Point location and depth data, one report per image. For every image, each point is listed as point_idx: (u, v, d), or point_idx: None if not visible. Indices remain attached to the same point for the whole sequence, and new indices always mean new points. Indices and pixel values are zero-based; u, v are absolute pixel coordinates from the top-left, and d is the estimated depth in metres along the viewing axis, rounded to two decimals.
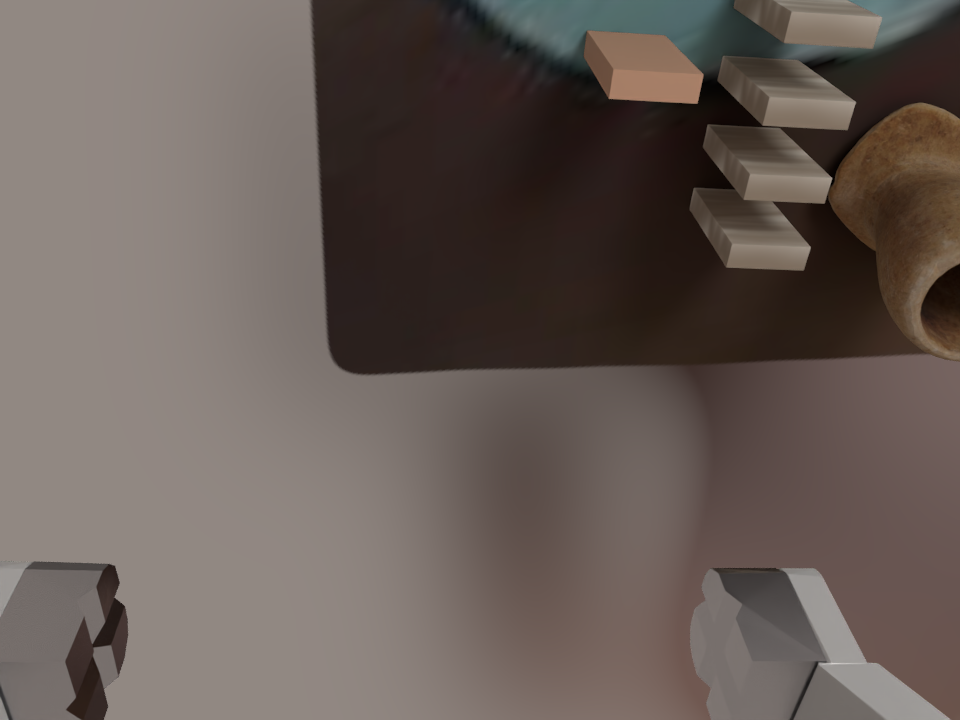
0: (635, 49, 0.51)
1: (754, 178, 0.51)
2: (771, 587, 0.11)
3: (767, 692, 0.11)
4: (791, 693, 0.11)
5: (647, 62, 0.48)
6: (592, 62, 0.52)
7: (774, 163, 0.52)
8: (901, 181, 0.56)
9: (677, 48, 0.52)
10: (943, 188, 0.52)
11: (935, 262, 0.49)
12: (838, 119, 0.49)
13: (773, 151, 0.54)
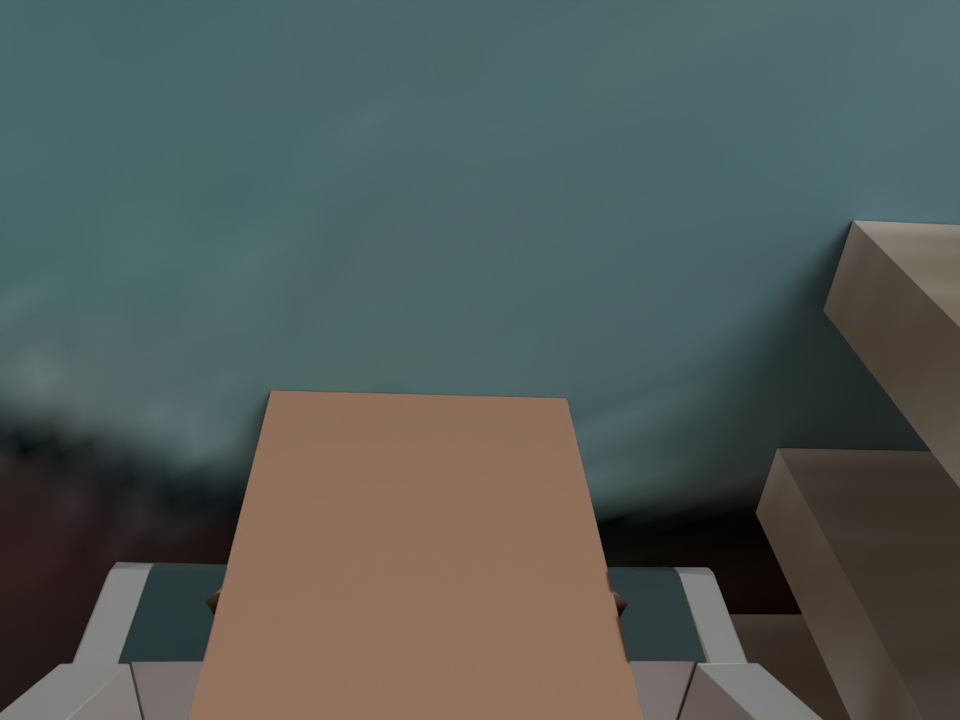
0: (398, 584, 0.11)
1: None
2: (660, 586, 0.11)
3: (648, 693, 0.11)
4: (673, 693, 0.11)
5: None
6: None
7: None
8: None
9: (597, 536, 0.12)
10: None
11: None
12: None
13: None
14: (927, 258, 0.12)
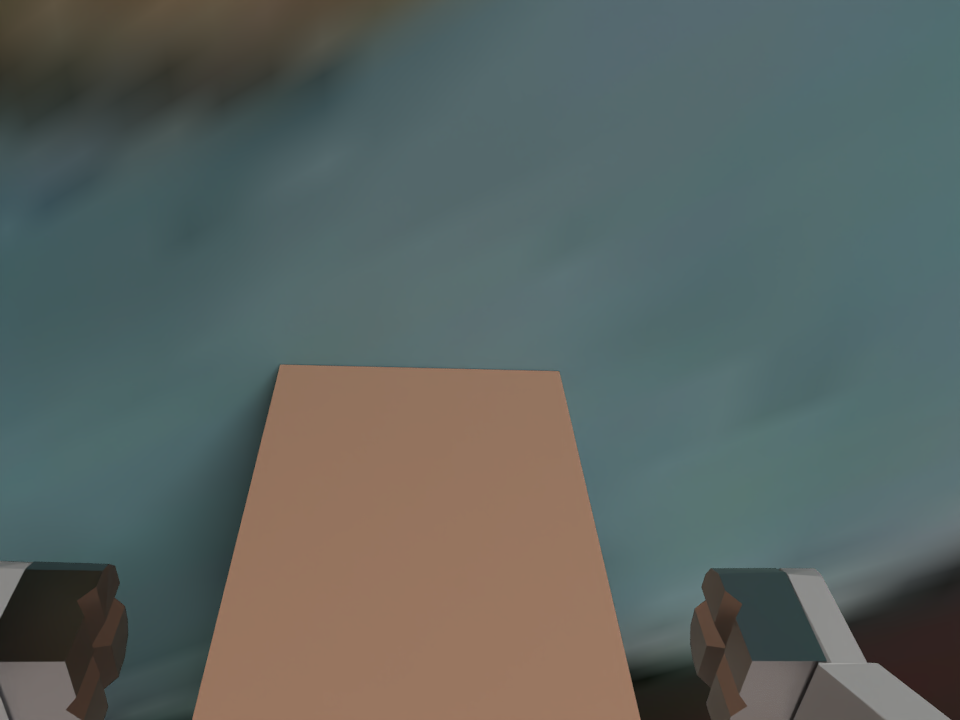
0: (400, 537, 0.12)
1: None
2: (771, 587, 0.11)
3: (766, 692, 0.11)
4: (791, 693, 0.11)
5: None
6: None
7: None
8: None
9: (586, 494, 0.13)
10: None
11: None
12: None
13: None
14: None
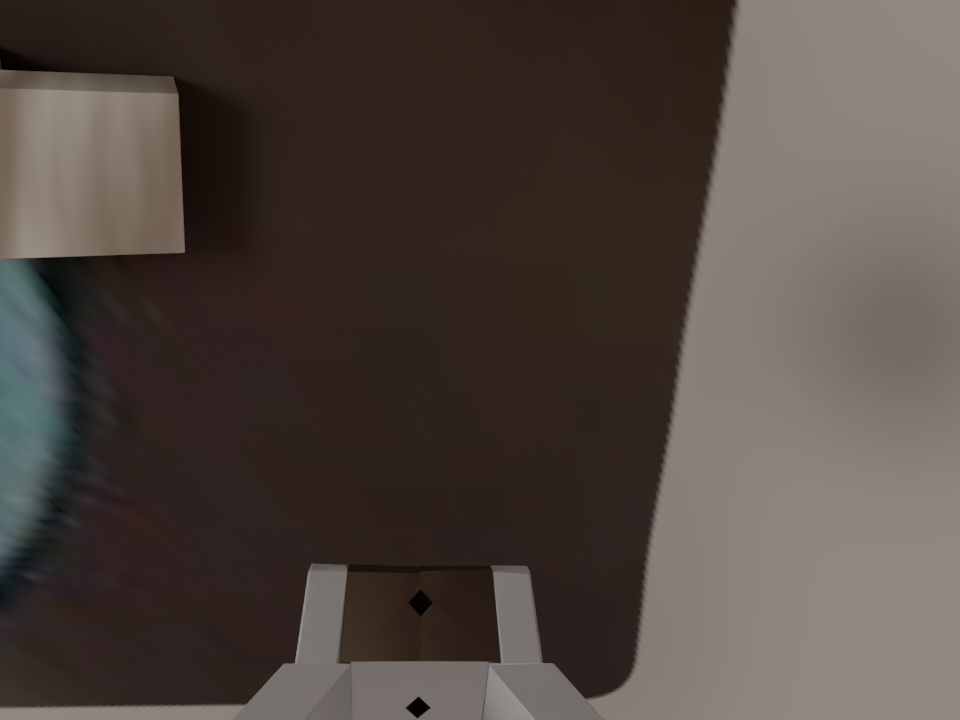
0: None
1: None
2: (471, 585, 0.11)
3: (446, 694, 0.10)
4: (472, 694, 0.10)
5: None
6: None
7: None
8: None
9: None
10: None
11: None
12: None
13: None
14: None
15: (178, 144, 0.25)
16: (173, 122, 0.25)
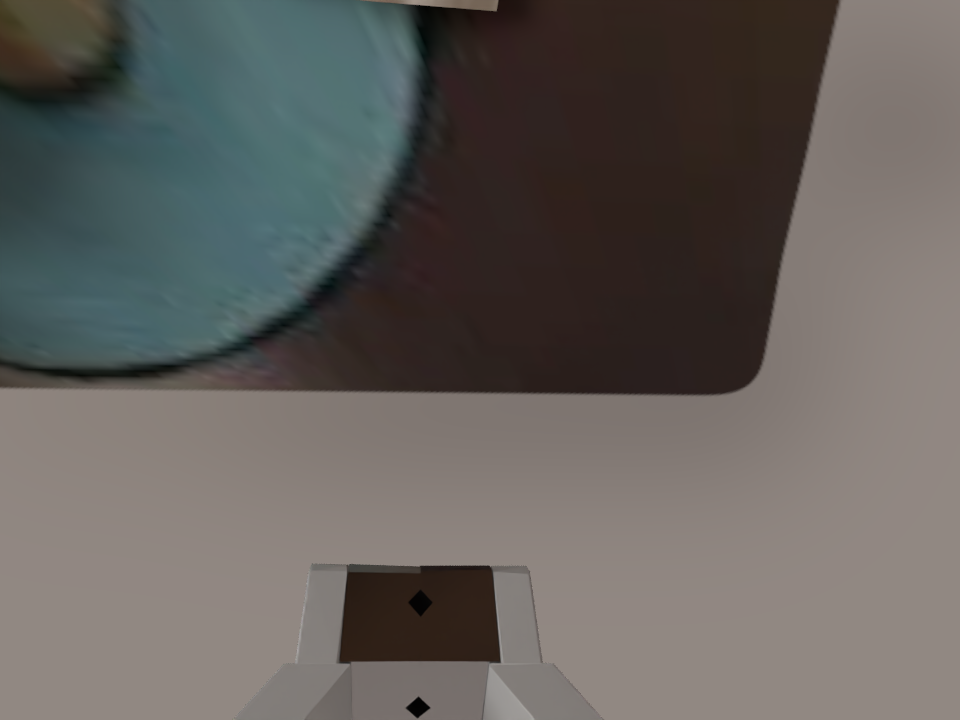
0: None
1: None
2: (471, 585, 0.11)
3: (446, 693, 0.10)
4: (472, 694, 0.10)
5: None
6: None
7: None
8: None
9: None
10: None
11: None
12: None
13: None
14: None
15: None
16: None
